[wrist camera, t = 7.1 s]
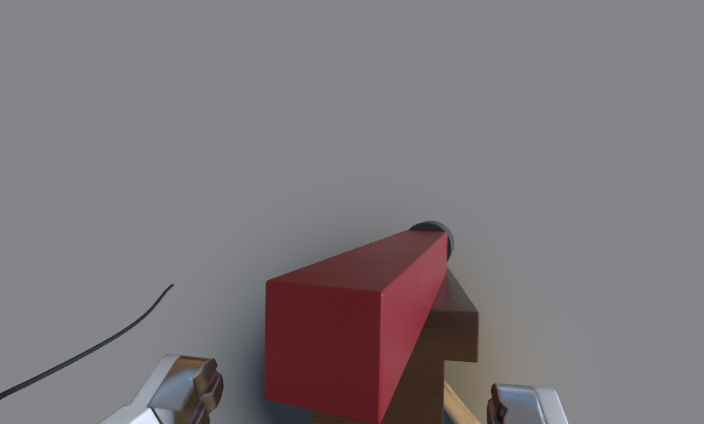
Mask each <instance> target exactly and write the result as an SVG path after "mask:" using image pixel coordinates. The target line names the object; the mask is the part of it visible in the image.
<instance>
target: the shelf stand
mask: <svg viewBox="0 0 704 424" xmlns="http://www.w3.org/2000/svg"><path fill="white" fill-rule="evenodd" d="M478 341H479V312H478V310H477V309H476V307H475V306H474V304H473V303H472V302H471V301H470V299H469V297H468V296H467V294H466V293H465V291H464V290H463V288H462V287H461V285H460V284H459V282H458V281H457V279H456V278H455V277H454V275H453V274H452V272H451V271H450V269H449V268H448V266H447V273H446V275H445V277H444V280H443V282H442V284H441V287H440V289H439V291H438V293H437V296H436V298H435V300H434V303H433V305H432V307H431V309H430V312H429V314H428V316H427V319H426V321H425V323H424V325H423V328H422V330H421V332H420V335H419V337H418V339H417V341H416V344H415V346H414V348H413V351H412V353H411V355H410V357H409V360H408V362H407V364H406V366H405V369H404V371H403V373H402V376H401V378H400V380H399V382H398V385H397V387H396V389H395V392H394V394H393V396H392V398H391V401H390V403H389V405H388V408H387V410H386V412H385V414H384V417H383V419H382V421H381V423H380V424H443V403H444V362H445V360H451V361H463V362H478V343H479V342H478ZM312 424H372V423H367V422H363V421H358V420H354V419H350V418H345V417H341V416H336V415H332V414H327V413H323V412H318V411H314V410H313V415H312Z"/></svg>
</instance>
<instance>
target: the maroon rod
mask: <svg viewBox="0 0 704 424" xmlns="http://www.w3.org/2000/svg"><path fill="white" fill-rule="evenodd" d="M453 249H454V238H453V235H452V234H451V232H450V230H449V229H448V228H447V227H446V226H445V225H443V224H441V223H439V222H436V221H426V222H422V223H419V224H417V225H414V226H413V227H412V228H410V229H409V230H406V231H403V232H400V233H398V234H395V235H392V236H390V237H387V238H384V239H381V240H378V241H375V242H373V243H370V244H367V245H364V246H362V247H359V248H356V249H354V250H351V251H348V252H345V253H343V254H339V255H337V256H334V257H331V258H328V259H326V260H323V261H320V262H317V263H315V264H312V265H309V266H306V267H303V268H301V269H298V270H295V271H292V272H290V273H287V274H284V275H282V276H279V277H276V278H273V279H270V280H268V281H267V282H266V309H265V310H266V311H265V314H266V315H265V392H264V397H265V399H266V400H270V401H275V402H279V403H283V404H288V405H292V406H296V407H301V408H306V409H310V410H314V411H318V412H323V413H327V414H332V415H336V416H341V417H345V418H350V419H354V420H358V421H363V422H367V423H372V424H380V423H381V421H382V419H383V417H384V414H385V412H386V410H387V408H388V405H389V403H390V401H391V398H392V396H393V394H394V392H395V389H396V387H397V385H398V382H399V380H400V378H401V376H402V373H403V371H404V369H405V366H406V364H407V362H408V360H409V357H410V355H411V353H412V351H413V348H414V346H415V344H416V341H417V339H418V337H419V335H420V332H421V330H422V328H423V325H424V323H425V321H426V319H427V316H428V314H429V312H430V309H431V307H432V305H433V303H434V300H435V298H436V296H437V293H438V291H439V289H440V287H441V284H442V282H443V280H444V277H445V275H446V273H447V261H448V260H449V258H450V256H451V254H452V252H453Z"/></svg>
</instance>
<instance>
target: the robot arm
mask: <svg viewBox="0 0 704 424" xmlns="http://www.w3.org/2000/svg"><path fill="white" fill-rule="evenodd" d="M173 286H174V284H172V285H170V286H169V287H168V288H167V289H166V290H165V291H164V292H163V294H162V295H161V296H160V297H159V299H158V300H157V301H156V302H155V304H154V305H153V306H152V307H151V308H150V309H149V310H148V311H147V312H146V313H145V314H144V315H143V316H141V317H140V318H139V319H138V320H136V321H135V322H134V323H132V324H131V325H129V326H128V327H126V328H125V329H123V330H122V331H120V332H119V333H117V334H115V335H114V336H112V337H110V338H109V339H107V340H105V341H103V342H102V343H100V344H98V345H96V346H94V347H93V348H91V349H89V350H87V351H85V352H83V353H81V354H79V355H77V356H75V357H74V358H71V359H69V360H68V361H66V362H64V363H62V364H60V365H58V366H56V367H54V368H52V369H50V370H48V371H46V372H44V373H42V374H40V375H38V376H36V377H34V378H32V379H30V380H27V381H25V382H23V383H21V384H19V385H17V386H15V387H12V388H11V389H8V390H6V391H4V392H2V393H0V400H1V399H2V398H4V397H6V396H8V395H10V394H12V393H14V392H16V391H18V390H20V389H22V388H25V387H27V386H29V385H31V384H33V383H35V382H37V381H39V380H41V379H43V378H45V377H46V376H48V375H50V374H52V373H54V372H56V371H58V370H60V369H62V368H64V367H66V366H68V365H70V364H72V363H73V362H75V361H77V360H79V359H81V358H83V357H85V356H86V355H88V354H90V353H92V352H94V351H96V350H97V349H99V348H101V347H102V346H104V345H106V344H108V343H109V342H111V341H113V340H114V339H116V338H118V337H119V336H121V335H122V334H124V333H125V332H127V331H128V330H130V329H131V328H133V327H134V326H135V325H137V324H138V323H139V322H140V321H141V320H143V319H144V318H145V317H146V316H147V315H148V314H149V313H150V312H151V311H152V310H153V309H154V308H155V307H156V306H157V304H158V303H159V302H160V300H161V299H162V298H163V297H164V295H165V294H166V293H167V291H169V289H171V288H172V287H173ZM216 368H217V363H216V361H215V359H212V358H202V357H191V356H183V355H171V354H166V355H165V356H163V357H162V358H161V359H160V360H159V362H158V363H157V365H156V366H155V368H154V369H153V371H152V372H151V373H150V375H149V376H148V378H147V379H146V381H145V382H144V384H143V385H142V387H141V388H140V390H139V391H138V393H137V394H136V396H135V397H134V398H133V400H132V401H131V403H130V404H129V405H123V406H122V407H121V408H119V409H118V410H116V411H115V412H113V413H112V414H111V415H109V416H108V417H107V418H105V419H103V420H102V421H101V422H99V423H98V424H209V423H210V418H209V413H210V412H211V411H212V410H214V409H215V408H216V407H217V406H218V404H219V401H220V399H221V396H222V392H223V387H224V386H223V378H222V375H221V374H220V373H218V372H217V371H216ZM491 394H492V398H491V399H490V400H488V405H487V424H568V422H567V419H566V417H565V414H564V411H563V409H562V406H561V403H560V400H559V398H558V395H557V393H556V392H555V390H554V389H552V388H544V387H532V386H524V385H510V384H497V383H494V384H493V385H492V388H491Z"/></svg>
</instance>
